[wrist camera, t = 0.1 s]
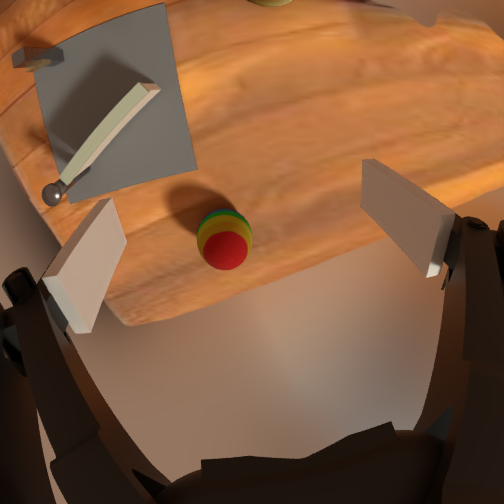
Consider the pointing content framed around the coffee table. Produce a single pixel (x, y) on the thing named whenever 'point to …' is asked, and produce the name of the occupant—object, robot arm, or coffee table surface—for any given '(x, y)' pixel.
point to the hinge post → (59, 189)
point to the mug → (270, 2)
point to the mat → (109, 95)
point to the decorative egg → (224, 239)
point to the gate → (109, 129)
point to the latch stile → (37, 58)
